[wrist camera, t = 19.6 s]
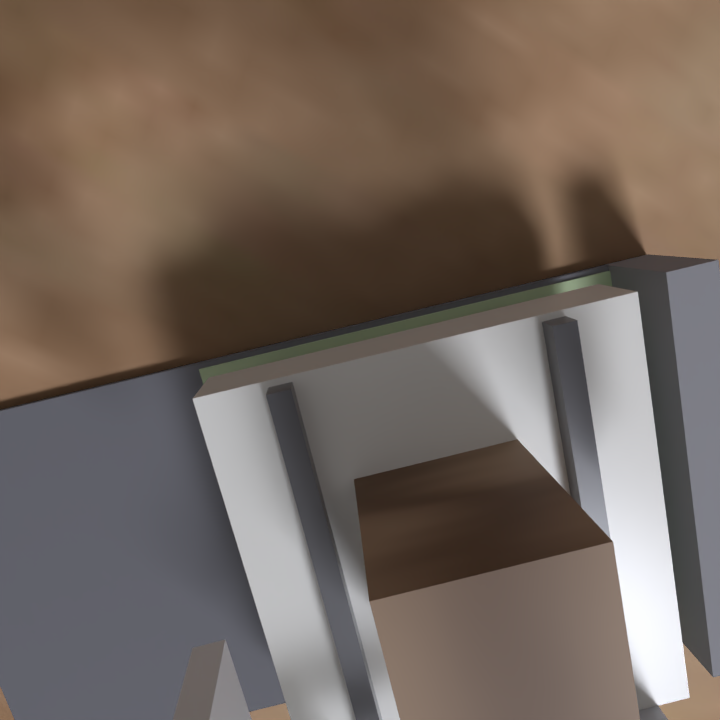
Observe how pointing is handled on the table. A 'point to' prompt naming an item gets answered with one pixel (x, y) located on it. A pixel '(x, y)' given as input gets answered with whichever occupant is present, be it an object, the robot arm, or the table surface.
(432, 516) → the block
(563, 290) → the grey holder base
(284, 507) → the white tray
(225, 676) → the robot arm
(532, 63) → the table surface
